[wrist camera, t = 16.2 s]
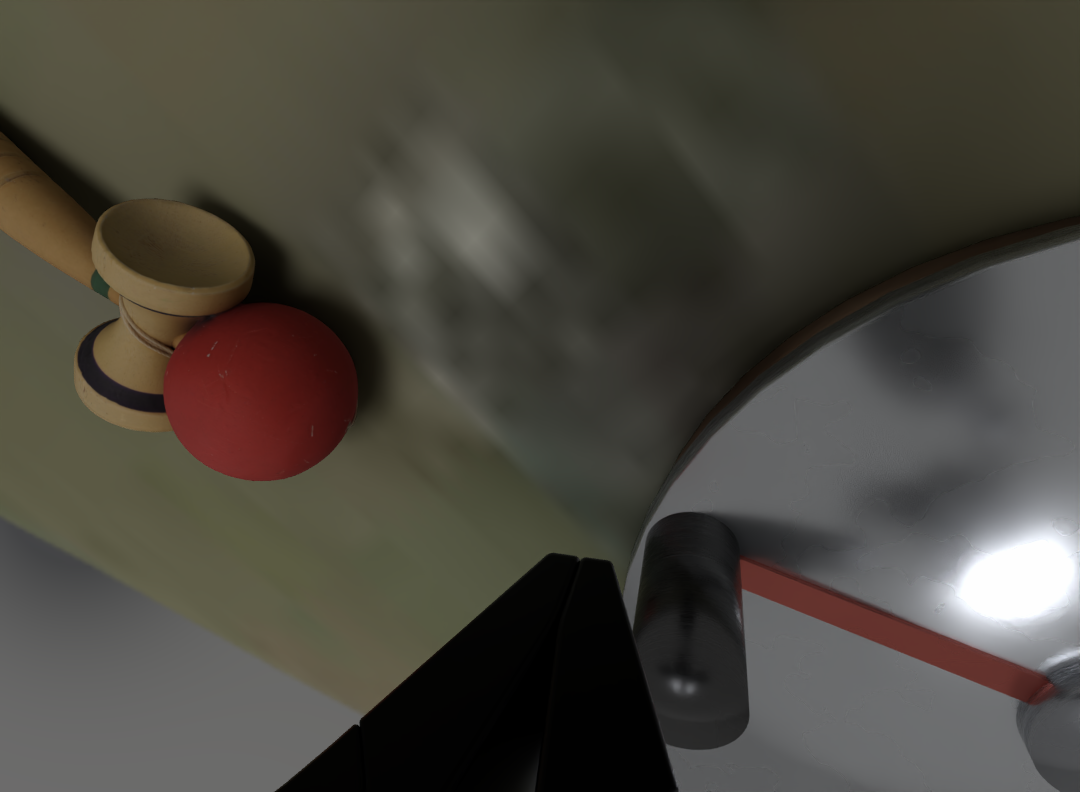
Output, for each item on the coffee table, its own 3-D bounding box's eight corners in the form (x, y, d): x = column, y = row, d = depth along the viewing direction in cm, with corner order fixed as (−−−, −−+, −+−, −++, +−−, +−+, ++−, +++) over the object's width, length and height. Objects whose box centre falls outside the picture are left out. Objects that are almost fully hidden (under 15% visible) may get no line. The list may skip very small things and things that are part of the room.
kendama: (3, 228, 27) (327, 498, 25) (-202, 220, 21) (210, 573, 19) (64, 58, 24) (426, 347, 23) (-148, -8, 18) (327, 379, 17)
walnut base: (661, 196, 18) (656, 207, 17) (2148, 204, 12) (2391, 225, 10) (629, 796, 30) (625, 839, 29) (1362, 958, 24) (1413, 1026, 22)
